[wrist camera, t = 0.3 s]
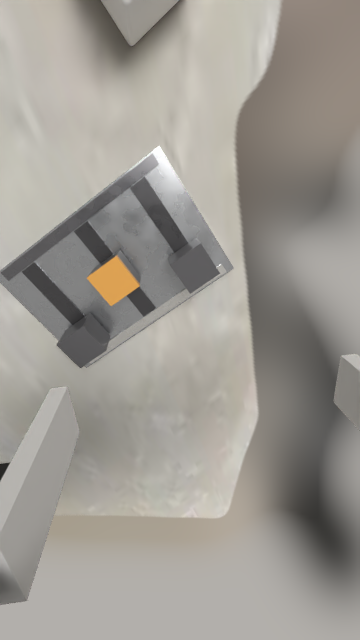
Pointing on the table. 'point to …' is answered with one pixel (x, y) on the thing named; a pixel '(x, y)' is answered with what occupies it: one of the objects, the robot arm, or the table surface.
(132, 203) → the panel
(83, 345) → the breaker
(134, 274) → the block
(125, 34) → the medicine bottle
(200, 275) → the block
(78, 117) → the table surface
